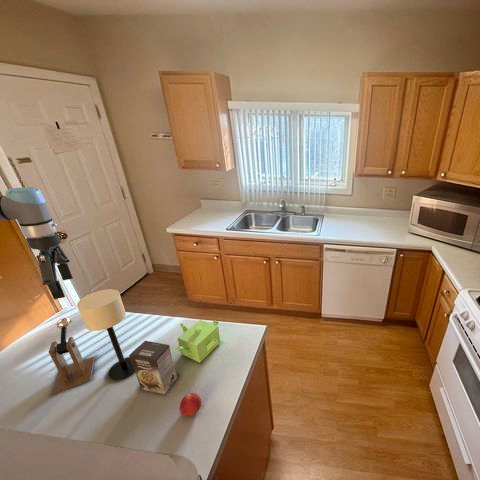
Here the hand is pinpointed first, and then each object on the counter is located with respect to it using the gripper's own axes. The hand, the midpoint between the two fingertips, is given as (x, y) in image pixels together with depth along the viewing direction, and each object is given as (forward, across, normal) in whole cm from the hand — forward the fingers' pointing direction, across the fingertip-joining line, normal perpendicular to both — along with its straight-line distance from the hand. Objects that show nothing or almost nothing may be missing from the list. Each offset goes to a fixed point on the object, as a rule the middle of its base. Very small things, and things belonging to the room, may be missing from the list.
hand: (64, 288), depth 93 cm
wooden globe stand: (+24, -21, 0) cm, 32 cm away
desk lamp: (+24, -26, -14) cm, 38 cm away
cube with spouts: (+24, -30, -38) cm, 54 cm away
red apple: (+24, -54, -32) cm, 67 cm away
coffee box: (+24, -39, -24) cm, 52 cm away
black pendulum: (+10, -16, 0) cm, 19 cm away
